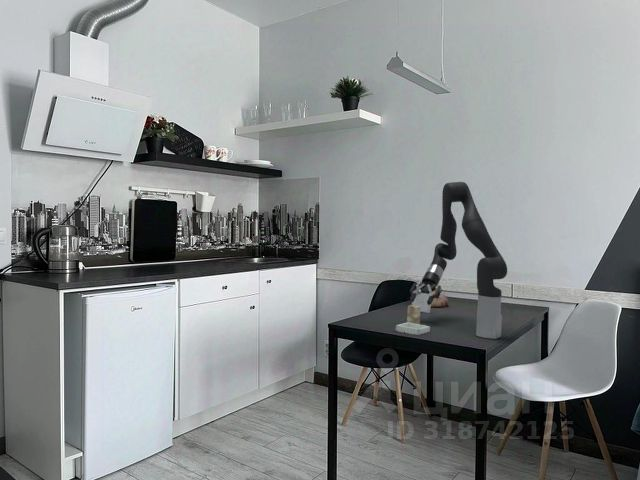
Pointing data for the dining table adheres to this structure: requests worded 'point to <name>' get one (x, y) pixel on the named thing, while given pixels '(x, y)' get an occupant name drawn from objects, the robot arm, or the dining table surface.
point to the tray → (413, 328)
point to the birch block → (413, 314)
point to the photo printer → (422, 302)
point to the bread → (440, 301)
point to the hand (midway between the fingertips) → (419, 302)
